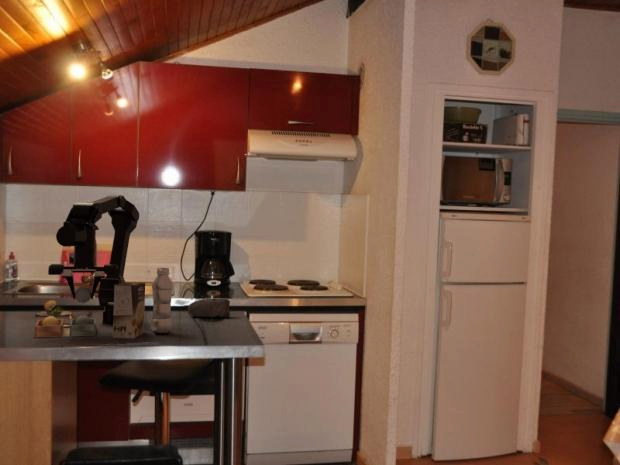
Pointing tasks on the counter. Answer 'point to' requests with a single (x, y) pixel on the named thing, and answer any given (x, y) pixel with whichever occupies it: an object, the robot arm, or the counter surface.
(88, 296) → the slate ball
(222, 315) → the perforated stone tool
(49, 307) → the burger
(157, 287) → the plastic bottle
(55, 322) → the ochre ball
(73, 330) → the wooden sorting board
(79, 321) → the slate ball
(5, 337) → the counter surface
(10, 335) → the counter surface
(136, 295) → the coffee box
